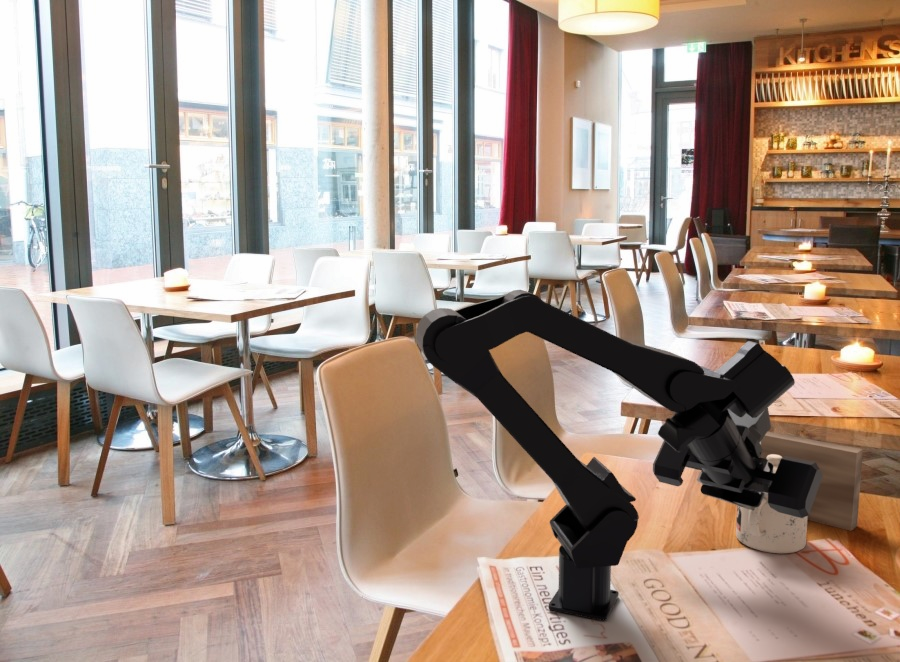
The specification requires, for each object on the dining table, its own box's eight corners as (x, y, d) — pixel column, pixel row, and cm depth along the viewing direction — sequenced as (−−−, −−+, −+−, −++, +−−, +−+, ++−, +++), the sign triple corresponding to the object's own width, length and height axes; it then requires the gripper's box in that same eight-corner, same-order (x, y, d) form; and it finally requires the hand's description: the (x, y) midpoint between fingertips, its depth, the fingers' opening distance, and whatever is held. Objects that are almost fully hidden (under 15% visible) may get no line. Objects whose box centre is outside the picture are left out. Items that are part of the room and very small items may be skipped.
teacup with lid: (747, 522, 112) (751, 441, 110) (816, 538, 106) (821, 454, 104) (714, 550, 103) (718, 463, 101) (788, 569, 97) (793, 478, 95)
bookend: (851, 530, 109) (856, 453, 107) (757, 506, 118) (761, 434, 116) (857, 525, 110) (862, 449, 109) (764, 502, 119) (768, 431, 118)
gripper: (821, 393, 87) (850, 467, 96) (666, 371, 100) (706, 438, 109) (788, 481, 82) (822, 549, 92) (631, 446, 95) (675, 509, 105)
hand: (752, 506), depth 99 cm, fingers closed, pressing on teacup with lid
